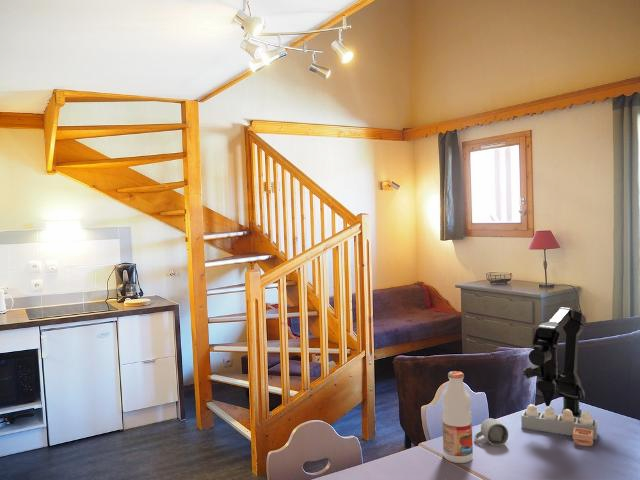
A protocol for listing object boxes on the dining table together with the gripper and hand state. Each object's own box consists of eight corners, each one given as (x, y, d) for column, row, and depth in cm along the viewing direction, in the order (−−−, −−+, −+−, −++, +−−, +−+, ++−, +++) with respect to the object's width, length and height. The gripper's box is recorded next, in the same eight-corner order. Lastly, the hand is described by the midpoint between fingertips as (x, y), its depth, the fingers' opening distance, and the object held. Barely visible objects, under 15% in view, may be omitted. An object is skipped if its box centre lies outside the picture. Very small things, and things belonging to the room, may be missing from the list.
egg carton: (524, 421, 200) (524, 400, 199) (597, 432, 187) (597, 410, 187) (521, 427, 194) (521, 406, 194) (596, 439, 181) (596, 416, 181)
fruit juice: (447, 449, 178) (445, 367, 177) (475, 454, 173) (473, 370, 172) (439, 460, 170) (437, 375, 169) (468, 466, 165) (466, 378, 164)
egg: (556, 421, 193) (556, 406, 192) (555, 425, 189) (555, 409, 189) (544, 419, 195) (544, 404, 195) (542, 423, 191) (542, 407, 191)
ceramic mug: (499, 436, 187) (498, 414, 187) (509, 445, 179) (508, 423, 179) (470, 438, 187) (469, 417, 186) (479, 448, 178) (478, 425, 178)
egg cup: (574, 437, 183) (574, 427, 183) (593, 440, 180) (593, 430, 180) (572, 444, 178) (572, 433, 178) (592, 447, 175) (592, 436, 175)
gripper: (529, 352, 203) (529, 391, 204) (520, 363, 187) (521, 406, 188) (560, 354, 198) (561, 395, 198) (554, 367, 181) (555, 411, 182)
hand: (549, 402), depth 192 cm, fingers open, 9 cm apart
